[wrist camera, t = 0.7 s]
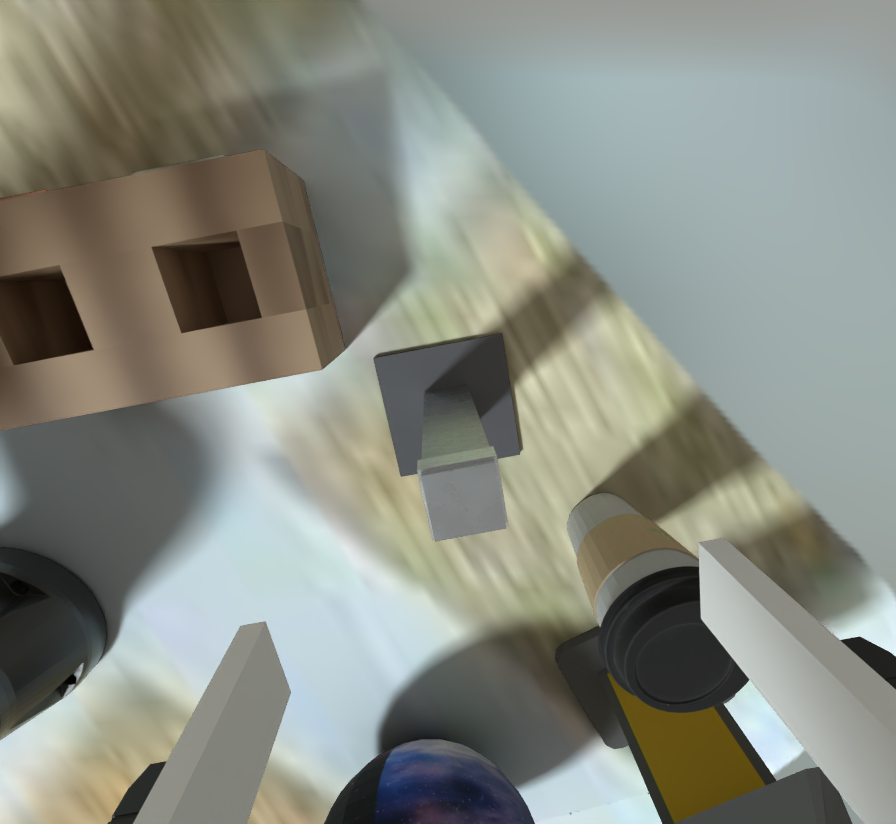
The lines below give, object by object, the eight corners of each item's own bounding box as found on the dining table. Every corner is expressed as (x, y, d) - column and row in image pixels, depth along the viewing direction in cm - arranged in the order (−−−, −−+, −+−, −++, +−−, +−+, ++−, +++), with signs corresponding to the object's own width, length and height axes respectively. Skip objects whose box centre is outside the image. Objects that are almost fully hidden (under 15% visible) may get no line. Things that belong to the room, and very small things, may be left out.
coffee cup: (671, 496, 40) (809, 619, 26) (620, 583, 42) (719, 741, 28) (576, 458, 39) (663, 566, 24) (527, 550, 41) (581, 698, 26)
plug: (431, 434, 37) (432, 544, 22) (422, 390, 36) (416, 473, 21) (476, 425, 37) (509, 530, 22) (468, 381, 36) (498, 458, 21)
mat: (401, 474, 38) (400, 476, 38) (374, 357, 36) (373, 358, 35) (519, 452, 38) (520, 454, 38) (501, 333, 35) (502, 334, 35)
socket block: (91, 398, 36) (-2, 431, 28) (20, 228, 32) (-108, 213, 24) (345, 349, 35) (322, 369, 28) (301, 173, 32) (261, 140, 24)
